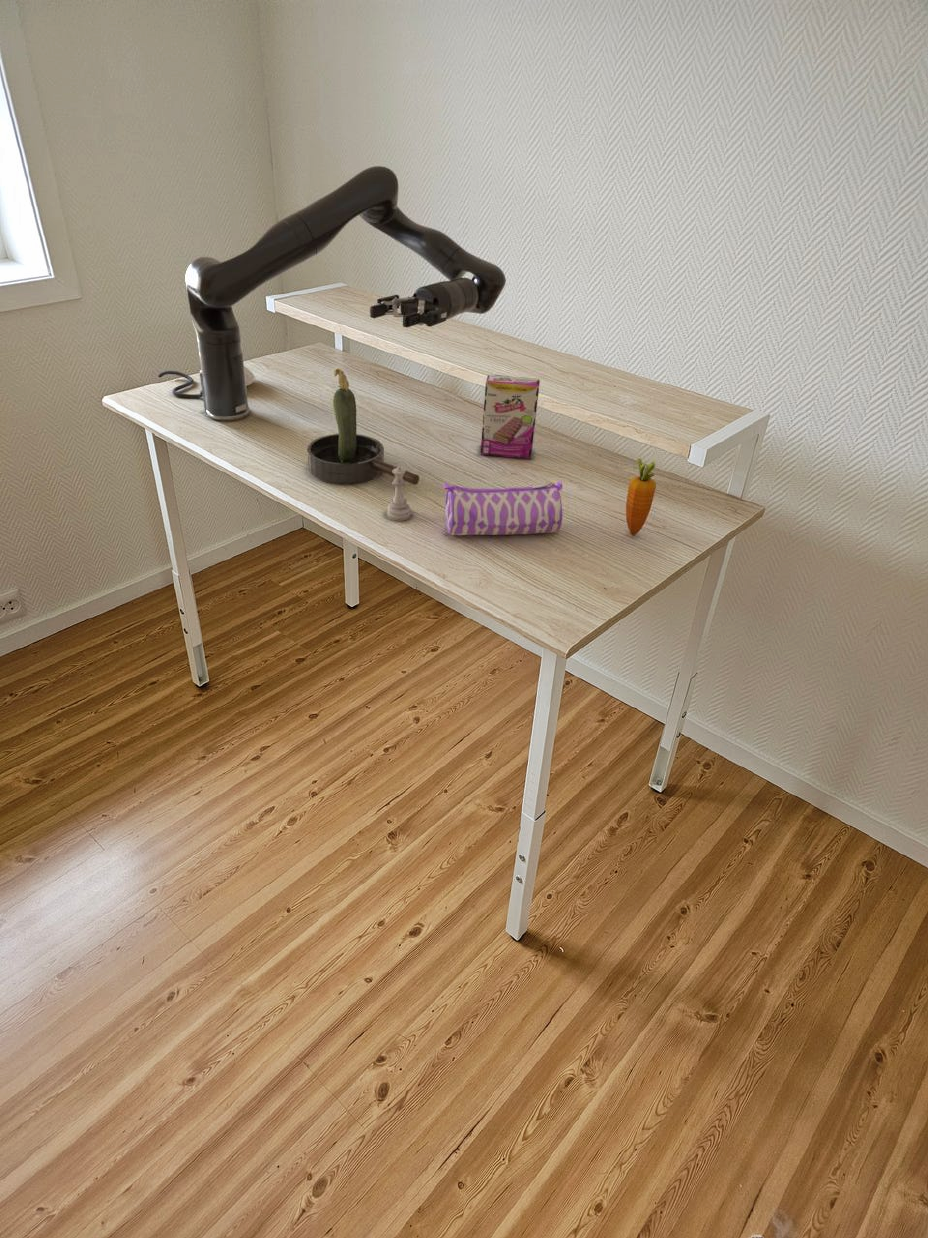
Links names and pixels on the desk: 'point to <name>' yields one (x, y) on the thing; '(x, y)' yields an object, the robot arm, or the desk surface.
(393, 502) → the chess piece
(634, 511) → the carrot
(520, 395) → the candy bar box
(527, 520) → the pencil case
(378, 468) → the pan handle
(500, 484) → the desk surface
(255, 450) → the desk surface
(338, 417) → the vegetable
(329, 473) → the pan
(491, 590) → the desk surface
